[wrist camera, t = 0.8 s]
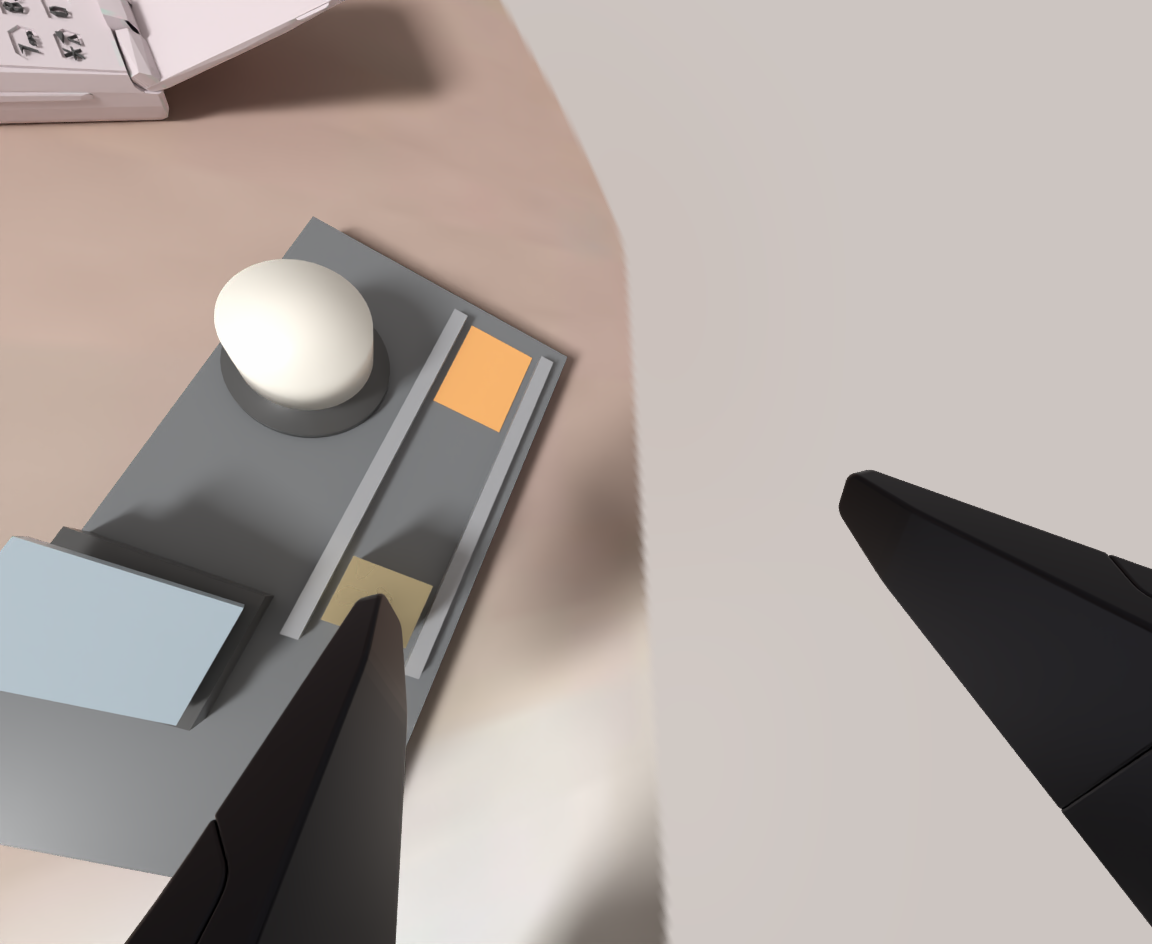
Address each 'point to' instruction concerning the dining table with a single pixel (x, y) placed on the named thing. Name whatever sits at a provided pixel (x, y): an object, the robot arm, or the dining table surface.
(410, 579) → the wood grain cube
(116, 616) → the rocker switch
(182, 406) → the control panel
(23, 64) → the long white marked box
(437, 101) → the dining table surface
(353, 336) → the push button
